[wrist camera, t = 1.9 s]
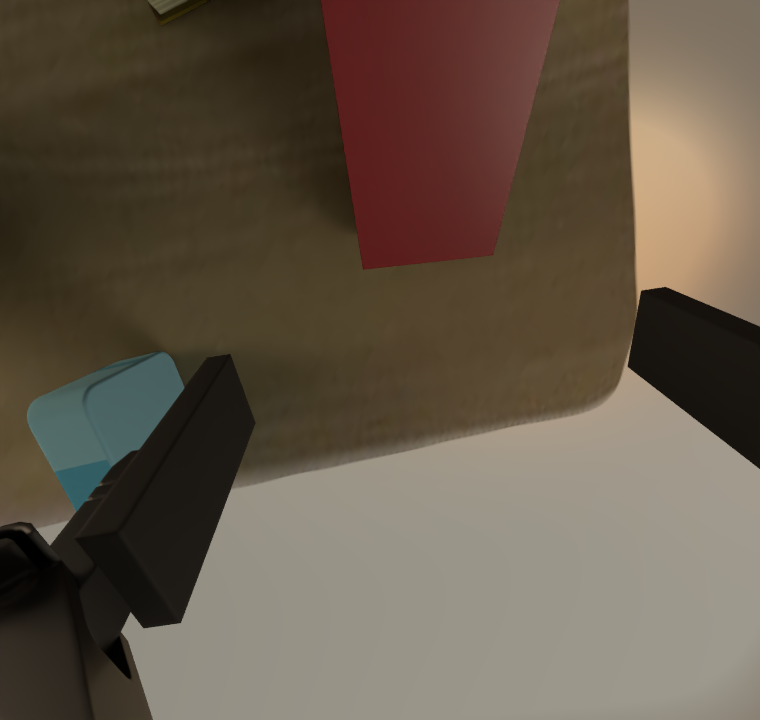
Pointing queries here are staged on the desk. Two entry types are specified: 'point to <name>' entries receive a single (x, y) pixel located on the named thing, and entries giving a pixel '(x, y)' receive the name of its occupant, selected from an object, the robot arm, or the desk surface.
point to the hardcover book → (173, 8)
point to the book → (433, 118)
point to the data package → (102, 419)
